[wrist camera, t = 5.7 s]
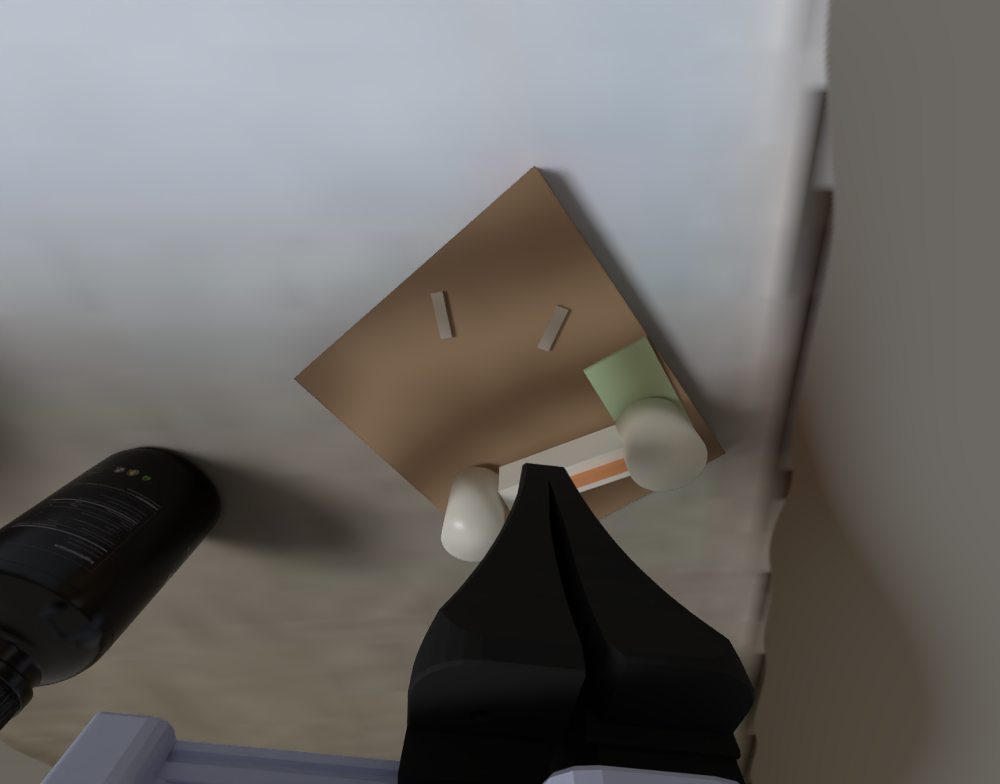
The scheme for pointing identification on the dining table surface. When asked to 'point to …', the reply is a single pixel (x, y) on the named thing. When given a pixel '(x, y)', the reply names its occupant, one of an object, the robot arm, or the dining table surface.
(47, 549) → the supplement bottle
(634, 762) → the robot arm
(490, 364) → the brown wooden board
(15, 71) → the dining table surface
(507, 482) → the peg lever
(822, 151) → the dining table surface
